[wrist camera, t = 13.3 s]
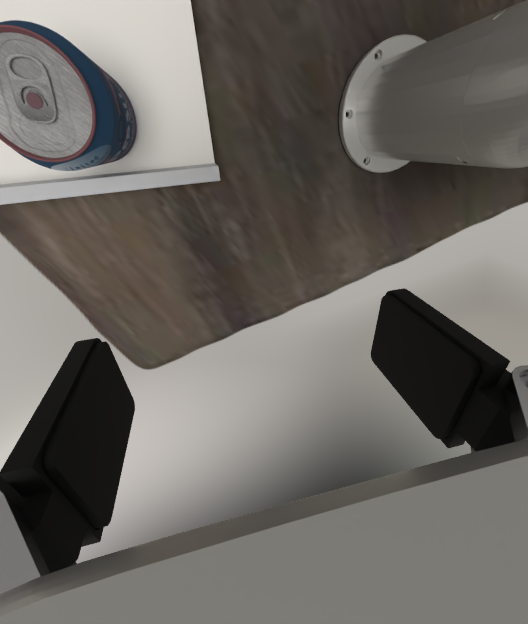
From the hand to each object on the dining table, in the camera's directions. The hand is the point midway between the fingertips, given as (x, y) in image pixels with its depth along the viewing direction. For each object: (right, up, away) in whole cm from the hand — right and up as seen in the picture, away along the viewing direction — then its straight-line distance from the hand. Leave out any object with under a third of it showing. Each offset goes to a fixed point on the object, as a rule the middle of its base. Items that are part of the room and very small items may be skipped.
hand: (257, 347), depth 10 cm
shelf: (-16, +21, +16) cm, 31 cm away
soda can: (-15, +18, +15) cm, 28 cm away
